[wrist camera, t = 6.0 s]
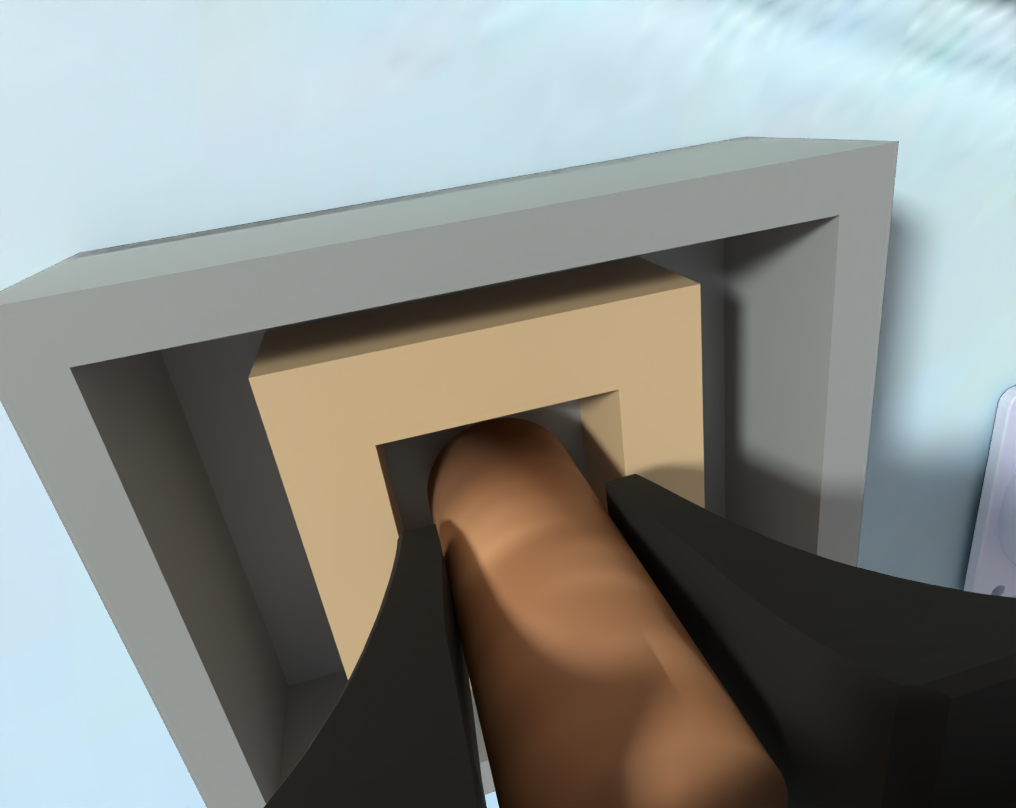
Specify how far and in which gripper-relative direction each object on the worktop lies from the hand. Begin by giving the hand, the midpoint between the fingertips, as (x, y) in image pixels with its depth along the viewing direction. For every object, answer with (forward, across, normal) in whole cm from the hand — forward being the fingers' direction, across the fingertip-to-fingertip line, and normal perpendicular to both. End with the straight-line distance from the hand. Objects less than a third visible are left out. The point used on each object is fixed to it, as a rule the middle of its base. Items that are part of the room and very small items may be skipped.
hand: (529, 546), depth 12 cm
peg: (+2, 0, 0) cm, 2 cm away
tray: (+4, 0, 0) cm, 4 cm away
